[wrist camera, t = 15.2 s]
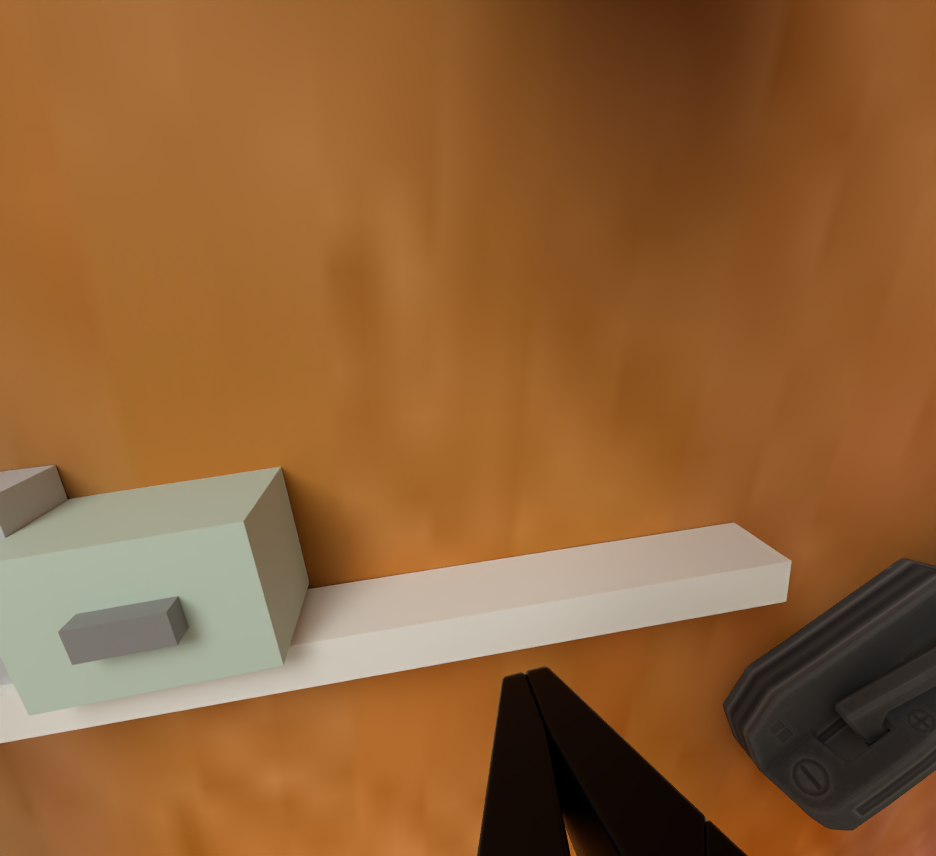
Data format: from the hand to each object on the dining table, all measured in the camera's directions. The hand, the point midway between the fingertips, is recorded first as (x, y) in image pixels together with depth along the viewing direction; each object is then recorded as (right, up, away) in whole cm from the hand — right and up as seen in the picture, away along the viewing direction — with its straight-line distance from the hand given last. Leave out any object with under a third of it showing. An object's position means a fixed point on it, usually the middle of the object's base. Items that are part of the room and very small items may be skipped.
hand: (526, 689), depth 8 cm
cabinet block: (-12, 0, +11) cm, 16 cm away
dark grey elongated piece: (+24, -5, +18) cm, 30 cm away
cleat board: (-4, +1, +12) cm, 12 cm away
